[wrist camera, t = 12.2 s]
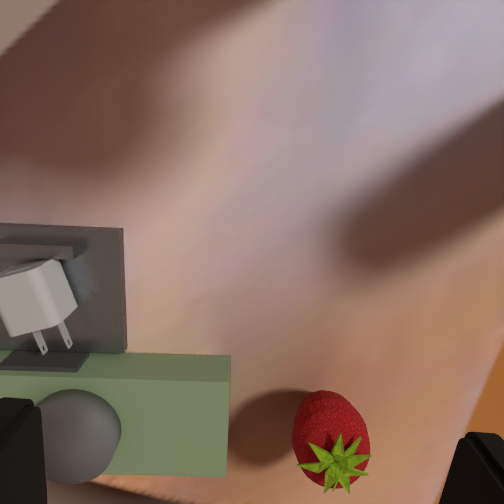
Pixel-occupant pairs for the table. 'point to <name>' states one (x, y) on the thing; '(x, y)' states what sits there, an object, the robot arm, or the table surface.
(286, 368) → the table surface
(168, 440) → the green slab with knob
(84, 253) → the grey plate with ledge
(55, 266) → the usb wall charger
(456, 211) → the table surface
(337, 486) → the strawberry
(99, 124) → the table surface
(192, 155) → the table surface
